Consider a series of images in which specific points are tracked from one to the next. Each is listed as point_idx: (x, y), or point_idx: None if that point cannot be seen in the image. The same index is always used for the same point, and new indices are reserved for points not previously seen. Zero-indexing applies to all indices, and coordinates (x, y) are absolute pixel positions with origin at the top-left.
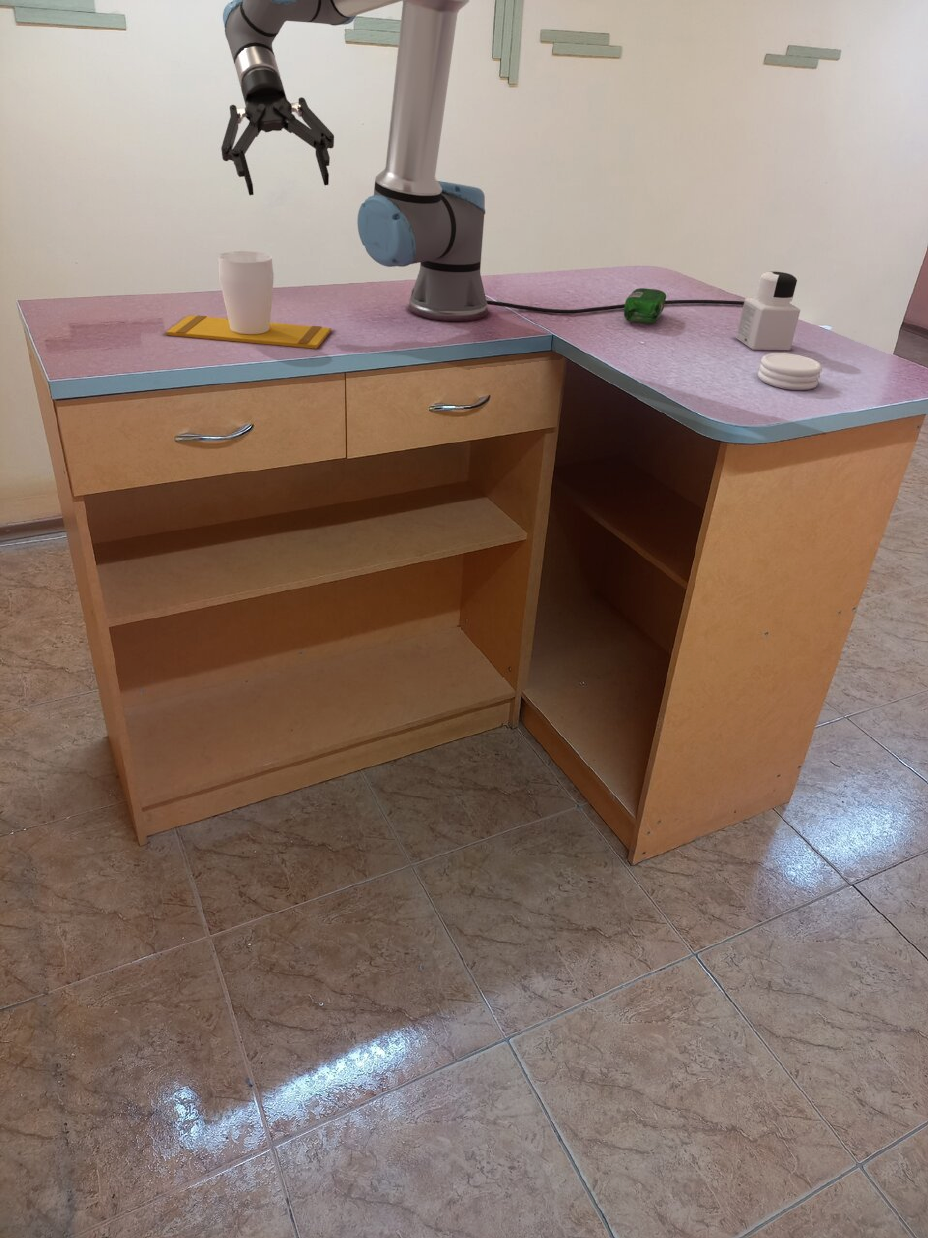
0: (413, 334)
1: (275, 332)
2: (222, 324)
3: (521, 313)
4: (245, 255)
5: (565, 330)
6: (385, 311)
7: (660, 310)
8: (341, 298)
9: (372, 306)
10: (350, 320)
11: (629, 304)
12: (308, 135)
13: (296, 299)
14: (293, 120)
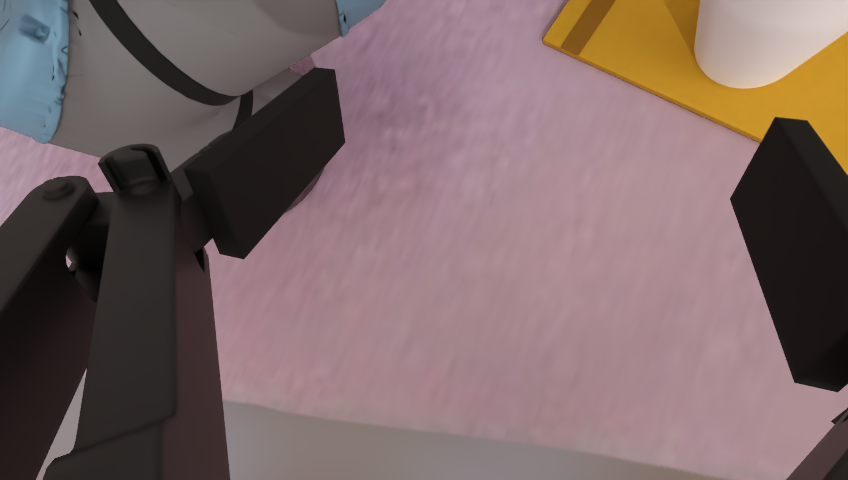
0: (394, 7)
1: (687, 15)
2: (816, 96)
3: None
4: (803, 1)
5: None
6: (372, 170)
7: None
8: (414, 296)
9: (379, 213)
10: (469, 117)
11: None
12: (182, 256)
13: (520, 319)
14: (135, 428)
